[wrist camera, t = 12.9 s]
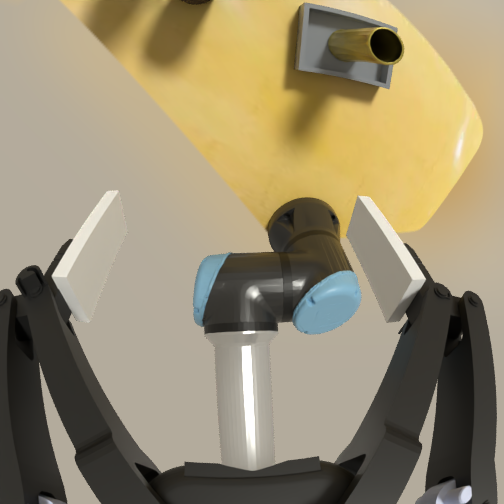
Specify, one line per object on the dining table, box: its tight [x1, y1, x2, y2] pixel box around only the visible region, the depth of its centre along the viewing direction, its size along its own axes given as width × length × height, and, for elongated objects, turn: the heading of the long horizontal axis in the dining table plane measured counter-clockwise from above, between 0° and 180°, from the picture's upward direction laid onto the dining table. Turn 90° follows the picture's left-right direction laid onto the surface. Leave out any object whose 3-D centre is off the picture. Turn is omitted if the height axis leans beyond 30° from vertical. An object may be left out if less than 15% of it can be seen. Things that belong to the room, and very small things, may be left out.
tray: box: [294, 3, 397, 89], centre depth 33 cm, size 12×16×4 cm
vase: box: [328, 27, 404, 65], centre depth 28 cm, size 6×6×14 cm
